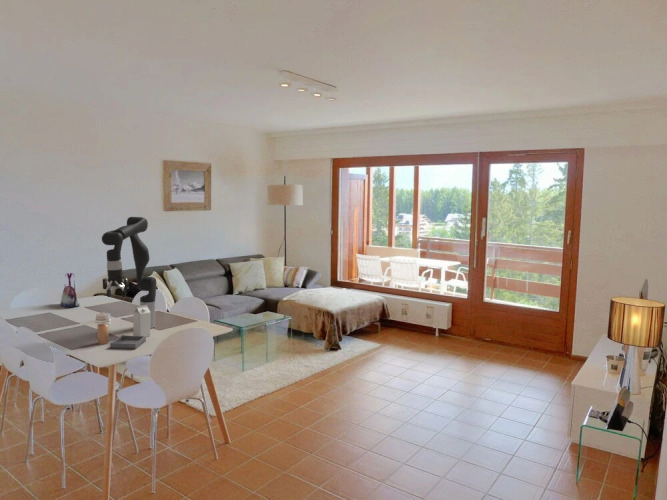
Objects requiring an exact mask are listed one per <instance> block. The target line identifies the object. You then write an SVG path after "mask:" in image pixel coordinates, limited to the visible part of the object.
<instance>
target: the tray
mask: <svg viewBox="0 0 667 500" xmlns="http://www.w3.org/2000/svg"><path fill="white" fill-rule="evenodd" d="M146 341H147V337H146V336H133V335H125V334H123V335H121V336H118V337H117V338H115V339H114V340H113V341H111V342H110V343H109V345H110V346H109V348H110V349H116V350H118V349H119V350H124V349H125V350H137V349H139V347H140V346H141V345H143V344H144V343H146Z"/></svg>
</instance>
